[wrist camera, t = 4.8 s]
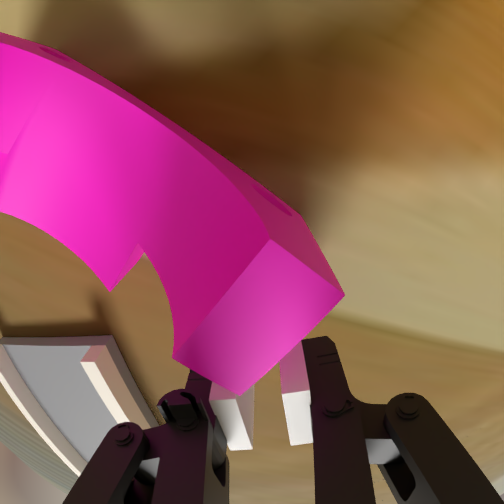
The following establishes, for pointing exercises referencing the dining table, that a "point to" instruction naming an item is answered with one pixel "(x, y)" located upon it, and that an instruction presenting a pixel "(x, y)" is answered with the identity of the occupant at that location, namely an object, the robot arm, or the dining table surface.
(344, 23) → the dining table surface
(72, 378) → the tray
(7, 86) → the toy block
